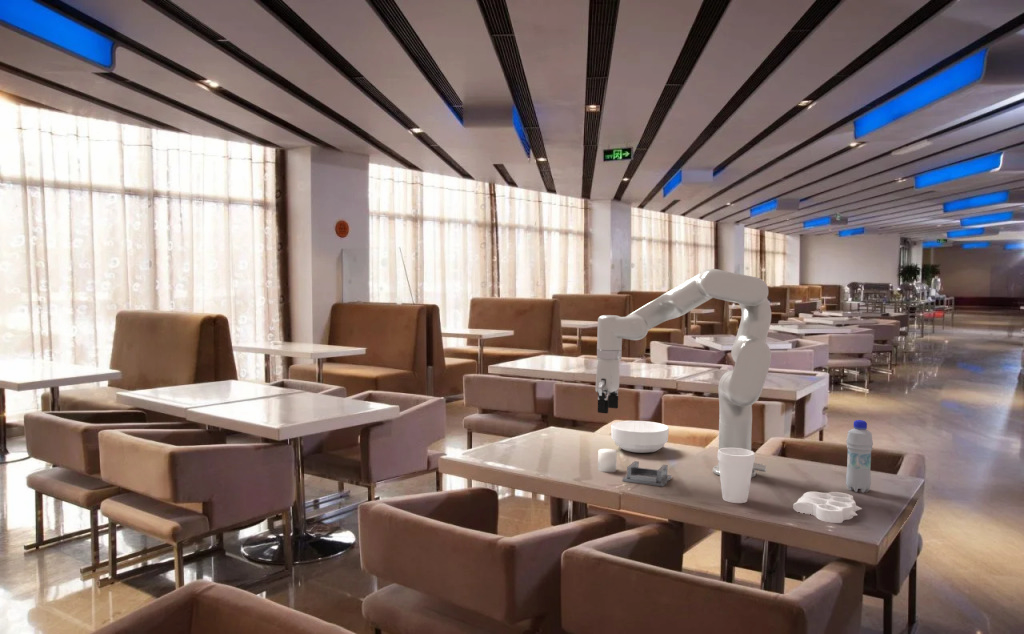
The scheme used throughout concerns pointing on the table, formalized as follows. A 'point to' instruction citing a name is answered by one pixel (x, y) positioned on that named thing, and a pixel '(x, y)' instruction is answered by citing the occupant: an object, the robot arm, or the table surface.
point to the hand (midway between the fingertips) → (607, 410)
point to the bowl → (639, 435)
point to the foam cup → (735, 473)
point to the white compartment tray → (827, 506)
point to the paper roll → (607, 460)
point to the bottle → (859, 457)
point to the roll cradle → (647, 475)
